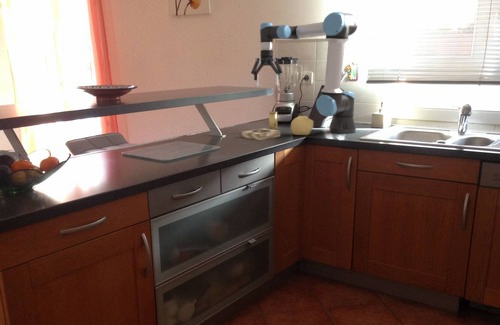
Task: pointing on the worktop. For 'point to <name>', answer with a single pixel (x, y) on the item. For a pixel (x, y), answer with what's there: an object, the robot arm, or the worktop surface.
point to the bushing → (273, 120)
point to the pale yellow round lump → (301, 125)
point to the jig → (260, 134)
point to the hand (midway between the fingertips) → (266, 85)
